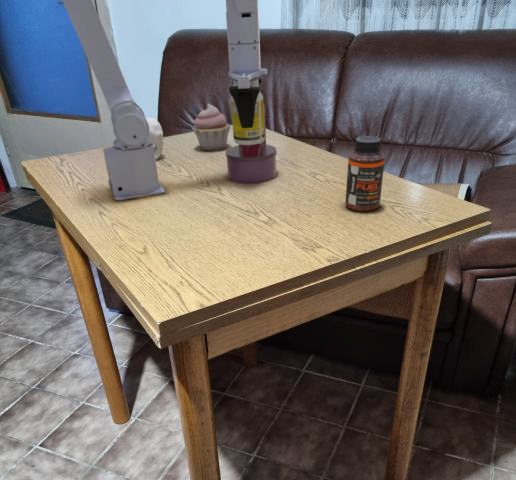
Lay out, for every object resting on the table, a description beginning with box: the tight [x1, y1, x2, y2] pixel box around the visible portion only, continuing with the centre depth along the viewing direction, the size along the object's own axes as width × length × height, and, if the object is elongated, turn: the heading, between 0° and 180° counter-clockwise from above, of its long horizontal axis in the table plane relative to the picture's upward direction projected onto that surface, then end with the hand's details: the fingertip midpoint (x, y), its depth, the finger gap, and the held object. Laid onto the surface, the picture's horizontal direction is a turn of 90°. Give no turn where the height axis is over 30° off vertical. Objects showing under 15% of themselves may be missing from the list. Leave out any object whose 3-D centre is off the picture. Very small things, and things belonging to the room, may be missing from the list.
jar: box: [225, 143, 278, 184], centre depth 105 cm, size 10×10×5 cm
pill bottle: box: [230, 77, 265, 145], centre depth 98 cm, size 6×6×11 cm
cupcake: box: [191, 103, 231, 152], centre depth 123 cm, size 9×9×10 cm
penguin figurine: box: [145, 117, 164, 161], centre depth 118 cm, size 6×8×12 cm
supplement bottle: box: [345, 135, 385, 212], centre depth 86 cm, size 6×6×11 cm
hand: (247, 123), depth 100 cm, fingers closed on pill bottle, 6 cm apart
